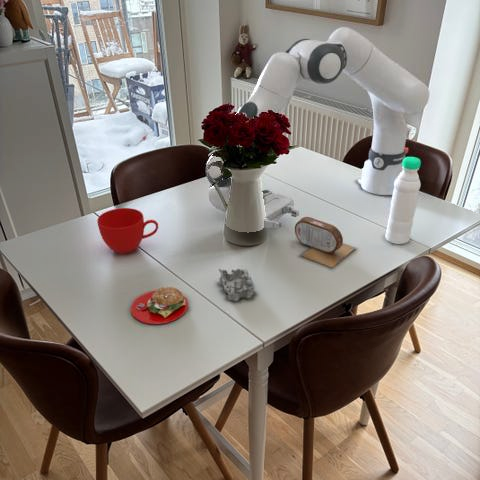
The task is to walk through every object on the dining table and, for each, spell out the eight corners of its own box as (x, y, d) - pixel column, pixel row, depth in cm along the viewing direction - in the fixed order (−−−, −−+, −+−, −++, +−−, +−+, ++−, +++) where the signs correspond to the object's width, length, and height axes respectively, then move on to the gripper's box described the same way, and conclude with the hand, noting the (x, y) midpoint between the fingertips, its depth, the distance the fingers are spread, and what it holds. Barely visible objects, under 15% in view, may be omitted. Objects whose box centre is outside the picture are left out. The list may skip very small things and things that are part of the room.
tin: (341, 253, 144) (345, 227, 139) (336, 258, 142) (339, 231, 137) (298, 237, 152) (299, 212, 147) (292, 241, 150) (293, 216, 145)
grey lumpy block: (218, 280, 134) (217, 267, 132) (245, 276, 136) (244, 263, 133) (228, 303, 125) (227, 289, 123) (256, 298, 127) (256, 284, 125)
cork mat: (325, 238, 152) (325, 237, 152) (355, 249, 146) (355, 248, 146) (301, 256, 144) (301, 255, 143) (331, 268, 138) (331, 266, 138)
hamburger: (161, 284, 133) (159, 265, 129) (199, 304, 125) (198, 285, 122) (119, 309, 124) (115, 289, 120) (157, 332, 116) (154, 312, 113)
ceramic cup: (159, 258, 144) (155, 227, 138) (99, 260, 143) (93, 229, 137) (162, 236, 154) (158, 206, 149) (106, 238, 154) (101, 208, 148)
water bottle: (407, 234, 154) (422, 154, 139) (411, 245, 148) (428, 163, 134) (383, 233, 154) (396, 153, 140) (386, 244, 148) (401, 163, 134)
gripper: (230, 209, 148) (268, 223, 141) (271, 187, 161) (308, 198, 154) (230, 228, 152) (267, 242, 145) (271, 205, 165) (306, 217, 157)
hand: (288, 219), depth 149 cm, fingers open, 8 cm apart
